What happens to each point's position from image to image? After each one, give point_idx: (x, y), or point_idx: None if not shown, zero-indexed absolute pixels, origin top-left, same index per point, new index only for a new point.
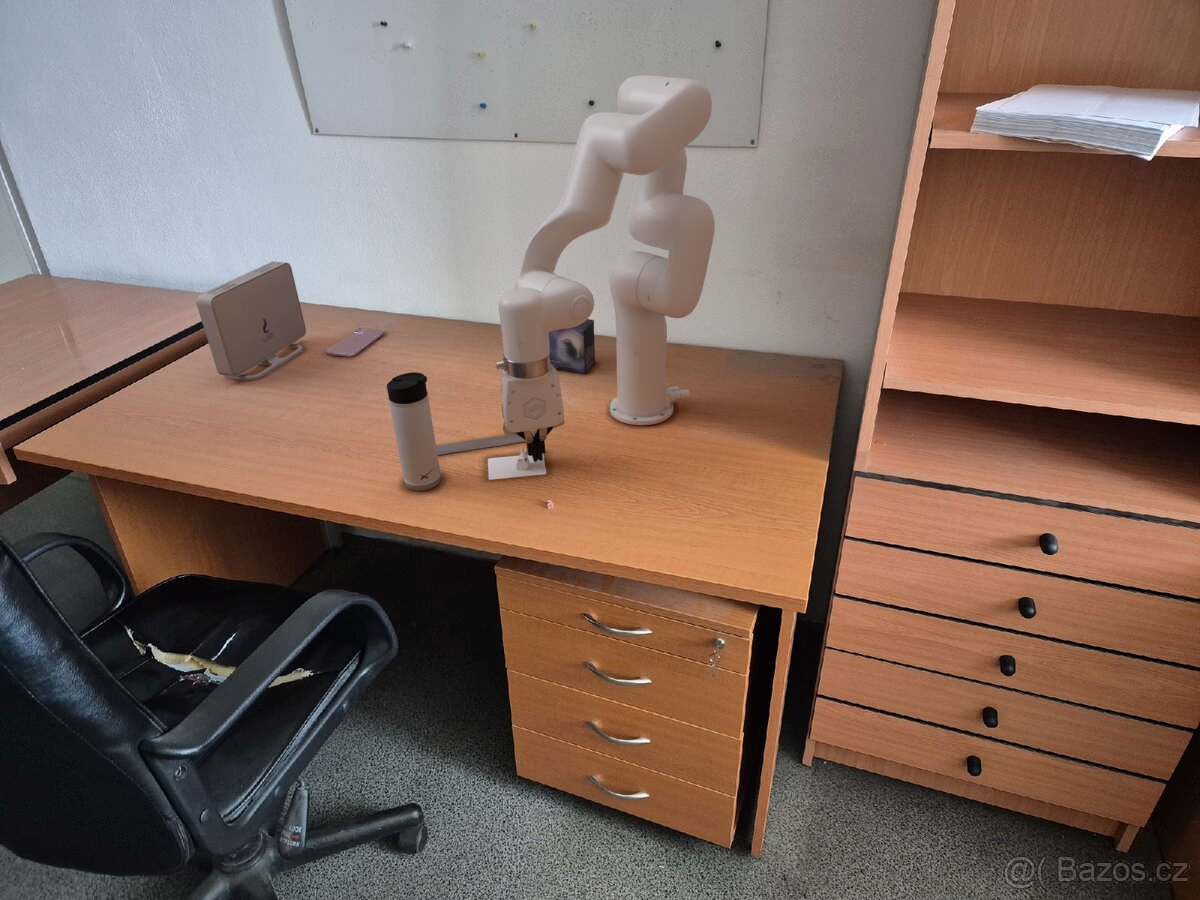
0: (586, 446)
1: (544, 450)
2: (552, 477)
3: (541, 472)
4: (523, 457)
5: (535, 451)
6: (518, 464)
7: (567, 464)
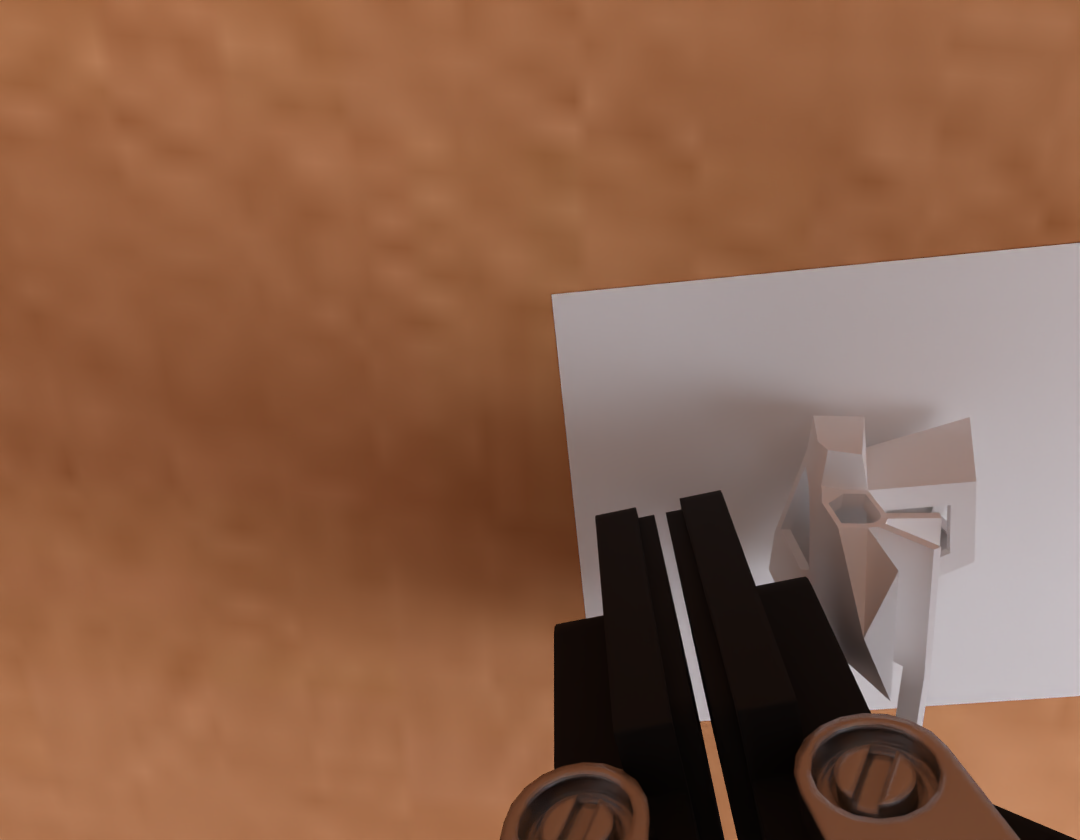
0: (119, 801)
1: (566, 646)
2: (461, 200)
3: (618, 337)
4: (899, 534)
5: (718, 587)
6: (946, 467)
7: (286, 490)
